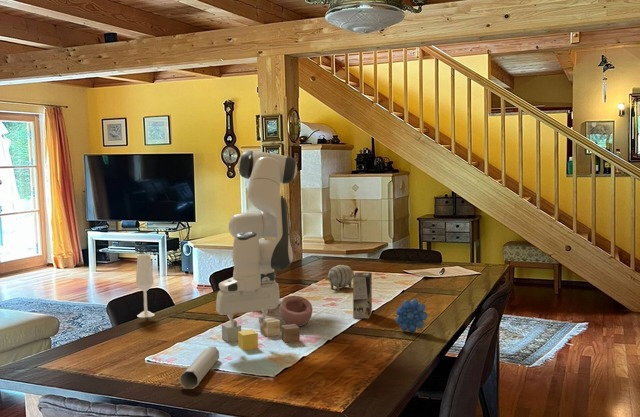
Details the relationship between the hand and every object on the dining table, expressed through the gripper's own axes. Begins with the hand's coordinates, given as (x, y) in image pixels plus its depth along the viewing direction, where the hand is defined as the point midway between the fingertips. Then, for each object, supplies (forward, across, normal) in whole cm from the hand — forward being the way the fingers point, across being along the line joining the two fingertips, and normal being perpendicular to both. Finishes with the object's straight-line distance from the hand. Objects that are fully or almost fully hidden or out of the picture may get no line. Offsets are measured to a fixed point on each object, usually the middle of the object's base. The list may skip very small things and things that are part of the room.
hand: (248, 324), depth 205 cm
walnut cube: (+8, -15, 0) cm, 17 cm away
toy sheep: (+7, -68, -66) cm, 95 cm away
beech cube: (+8, -12, -11) cm, 18 cm away
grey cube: (+8, +2, -11) cm, 14 cm away
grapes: (+8, -57, +10) cm, 58 cm away
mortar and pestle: (+8, -24, -16) cm, 30 cm away
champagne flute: (+7, +22, -58) cm, 63 cm away
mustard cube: (+8, 0, 0) cm, 8 cm away
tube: (+8, +20, +17) cm, 27 cm away
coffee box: (+8, -53, -18) cm, 56 cm away
